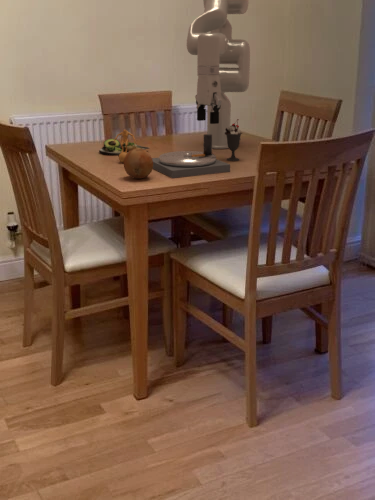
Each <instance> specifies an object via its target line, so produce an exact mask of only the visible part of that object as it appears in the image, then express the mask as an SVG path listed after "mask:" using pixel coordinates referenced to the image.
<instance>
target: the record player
mask: <svg viewBox="0 0 375 500" xmlns="http://www.w3.org/2000/svg"><path fill="white" fill-rule="evenodd" d="M203 144H204V146H203V151H198V150H197V151H196V150H185V151H184V150H180V151H179V150H178V151H170V152H166V153H165V152H164V153H162V154H160V155H159V156H158V158H159V162H160V163H162V164H165V165H169V166H178V167H197V166H205V165H210V164H213V163H215V162H216V159H217V156H216V154H213V149H212V135H211V134H207V133H204V134H203Z"/></svg>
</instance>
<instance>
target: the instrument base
mask: <svg viewBox="0 0 375 500" xmlns="http://www.w3.org/2000/svg"><path fill="white" fill-rule="evenodd" d="M152 160H153V169H152V170H155V171H156V172H160V173H161V174H163V175H165V176H167V177H169V178H171V179H177V178H178V179H179V178H185V177H195V176H202V175H203V176H204V175H212V174H213V175H214V174H219V173H230V172H231V163H230V164H229V163H228V162H224V161H222V160H220V159H217V158H216V162H215V163H213V164H210V165H205V166H197V167H178V166H169V165H165V164H162V163H160V162H159V157H152Z"/></svg>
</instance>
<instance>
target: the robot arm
mask: <svg viewBox="0 0 375 500" xmlns="http://www.w3.org/2000/svg"><path fill="white" fill-rule="evenodd" d="M203 8H204V11H203V13H201V14H200V15H199V16H197V17H196V18H195V19H194V20H193V21H192V22H191V23H190V25H189V27H188V32H187V37H186V50H187V53H188V54H190V55H191V56H197V57H196V58H197V64H196V65H197V69H196V70H197V74H196V75H197V83H196V86H197V87H196V95H195V96H194V97H195V104H196V120H197V122H199V121H206V119H207V121H206V123H207V125H206V130H207V132H206V134H211V135H212V150H214V149H215V150H222V149H229V148H228V144H227V136H226V135H225V132H226V130H225V129H226V128H227V129H228V128H229V127H230V126H231V117H232V116H231V115H232V114H231V111H232V110H231V106H232V105H231V100H230V98H228V96H227V95H226V94H225V93H245V92H246V91H247V90H248V89H249V84H250V70H251V69H250V64H251V63H250V62H251V49H250V44H249V42H248V41H247V40H245V39H237V38H236V39H233V38H232V36H233V35H232V34H233V27H232V24H231V22H230V21H229V19H228V15H244V14H246V12H248V11H247V10H248V8H249V0H203ZM220 65H235V66H238V67H224V66H223V67H222V66H221V67H220ZM206 107H207V109H206ZM206 114H207V115H206ZM240 140H241V137H240ZM202 145H203V147H204V143H203V144H202Z"/></svg>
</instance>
